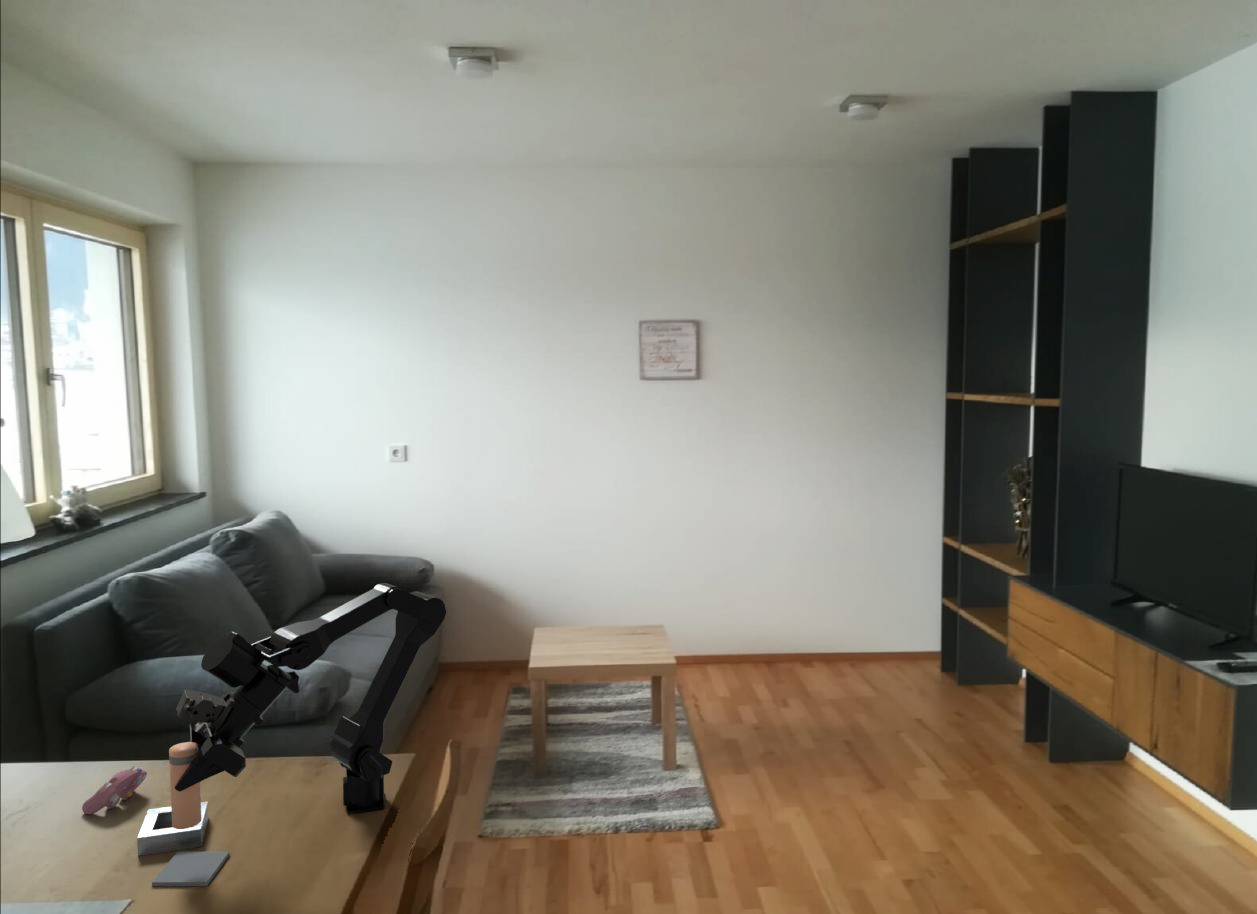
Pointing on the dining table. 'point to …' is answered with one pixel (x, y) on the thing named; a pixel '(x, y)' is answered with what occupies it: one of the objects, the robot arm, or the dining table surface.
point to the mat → (190, 869)
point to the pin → (188, 800)
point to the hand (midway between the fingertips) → (175, 783)
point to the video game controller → (115, 790)
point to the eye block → (169, 832)
